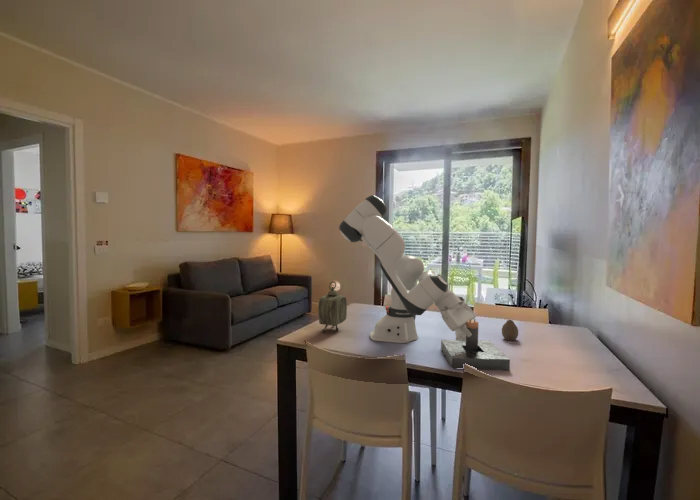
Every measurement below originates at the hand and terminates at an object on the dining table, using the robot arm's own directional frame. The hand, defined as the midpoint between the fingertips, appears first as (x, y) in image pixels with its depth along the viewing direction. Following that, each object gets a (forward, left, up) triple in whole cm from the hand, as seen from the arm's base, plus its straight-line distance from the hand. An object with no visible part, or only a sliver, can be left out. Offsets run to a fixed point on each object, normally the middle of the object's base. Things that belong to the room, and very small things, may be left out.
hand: (473, 334), depth 124 cm
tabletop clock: (-59, +34, -10) cm, 69 cm away
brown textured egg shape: (+24, +26, -10) cm, 37 cm away
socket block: (0, +1, -10) cm, 10 cm away
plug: (-1, 0, -5) cm, 5 cm away
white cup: (+2, +21, -10) cm, 23 cm away
